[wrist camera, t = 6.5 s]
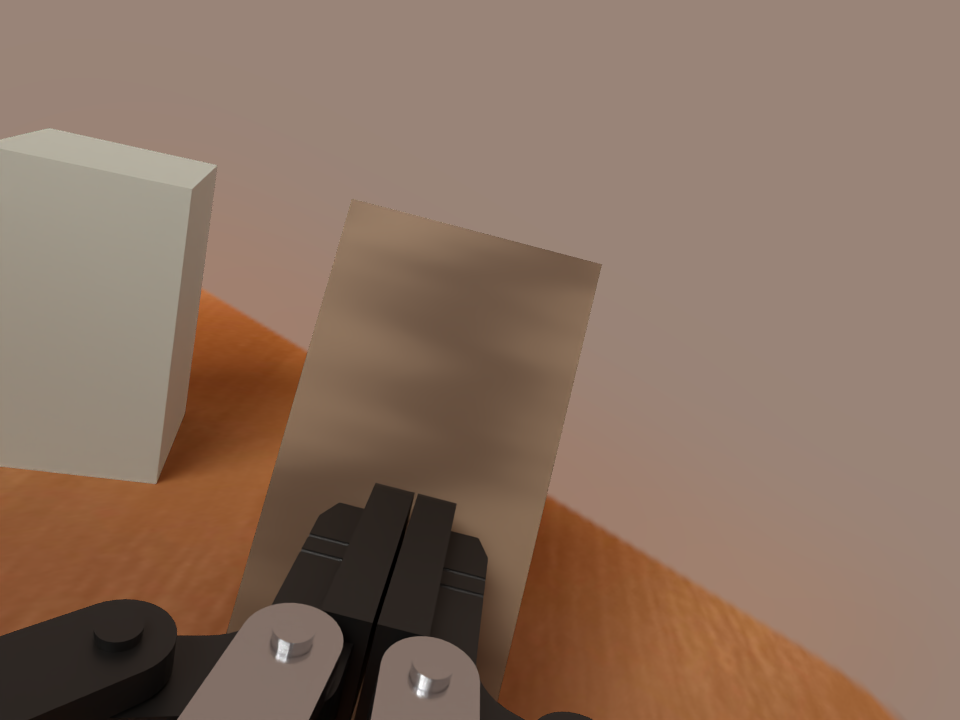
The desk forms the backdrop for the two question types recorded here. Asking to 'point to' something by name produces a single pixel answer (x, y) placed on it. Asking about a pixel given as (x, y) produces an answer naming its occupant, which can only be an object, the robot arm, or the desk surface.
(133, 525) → the desk surface
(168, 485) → the desk surface
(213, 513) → the desk surface
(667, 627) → the desk surface
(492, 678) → the walnut wood block
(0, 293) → the grey block
